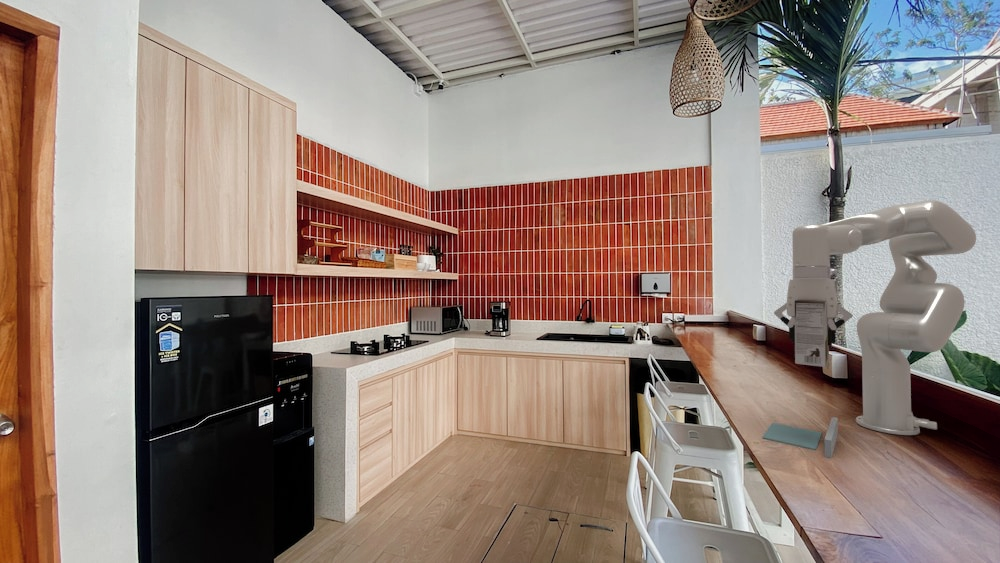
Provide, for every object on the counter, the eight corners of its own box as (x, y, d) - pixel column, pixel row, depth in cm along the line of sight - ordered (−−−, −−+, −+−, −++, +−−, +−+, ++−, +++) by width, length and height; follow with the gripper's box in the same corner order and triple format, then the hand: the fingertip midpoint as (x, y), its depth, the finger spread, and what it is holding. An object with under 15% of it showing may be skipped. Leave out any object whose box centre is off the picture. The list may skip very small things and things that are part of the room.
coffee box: (798, 358, 106) (798, 298, 107) (829, 361, 102) (829, 299, 102) (793, 363, 100) (793, 299, 100) (826, 367, 95) (826, 300, 95)
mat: (821, 433, 105) (821, 432, 105) (815, 450, 95) (815, 448, 95) (772, 423, 113) (772, 422, 113) (762, 438, 103) (762, 437, 103)
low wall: (838, 433, 106) (837, 418, 106) (831, 458, 91) (831, 440, 91) (832, 432, 106) (831, 417, 106) (824, 456, 92) (824, 439, 92)
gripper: (856, 273, 98) (857, 345, 98) (772, 274, 110) (772, 339, 110) (856, 273, 93) (857, 349, 92) (768, 274, 104) (768, 342, 104)
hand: (811, 343), depth 101 cm, fingers closed on coffee box, 6 cm apart
